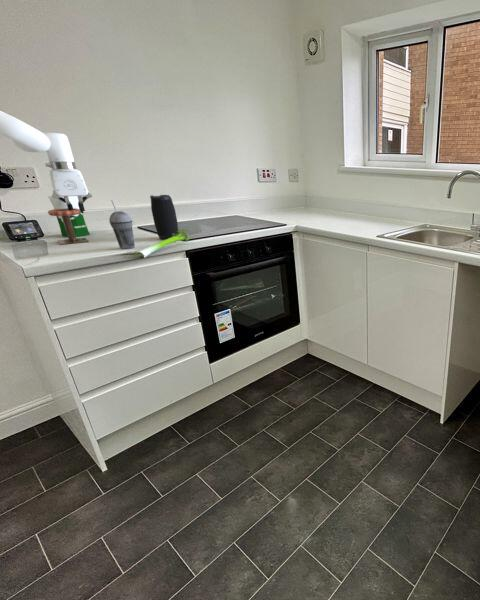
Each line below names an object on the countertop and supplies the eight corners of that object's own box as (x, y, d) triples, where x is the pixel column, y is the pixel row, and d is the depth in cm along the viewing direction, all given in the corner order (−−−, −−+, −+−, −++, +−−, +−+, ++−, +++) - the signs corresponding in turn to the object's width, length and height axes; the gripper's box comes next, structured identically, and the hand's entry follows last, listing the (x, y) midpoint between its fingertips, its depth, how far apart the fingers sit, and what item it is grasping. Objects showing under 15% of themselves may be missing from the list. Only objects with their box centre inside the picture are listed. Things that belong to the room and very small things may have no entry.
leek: (132, 261, 133) (179, 239, 160) (150, 264, 134) (194, 242, 161) (129, 246, 131) (177, 226, 158) (148, 249, 131) (193, 229, 158)
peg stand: (61, 247, 143) (49, 211, 138) (58, 243, 149) (47, 208, 143) (89, 244, 149) (79, 209, 144) (86, 240, 155) (76, 207, 149)
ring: (50, 217, 138) (48, 212, 137) (48, 214, 144) (46, 209, 143) (83, 214, 145) (81, 209, 144) (79, 212, 151) (78, 207, 150)
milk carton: (77, 233, 169) (64, 190, 161) (93, 234, 167) (81, 191, 160) (58, 236, 161) (43, 191, 153) (75, 237, 159) (61, 192, 152)
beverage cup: (142, 250, 143) (130, 199, 136) (122, 253, 137) (108, 201, 130) (133, 247, 147) (121, 198, 139) (113, 250, 141) (99, 199, 133)
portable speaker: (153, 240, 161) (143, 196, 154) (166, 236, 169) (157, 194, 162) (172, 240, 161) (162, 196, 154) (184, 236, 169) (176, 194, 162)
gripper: (36, 166, 132) (52, 215, 139) (91, 167, 143) (103, 212, 150) (35, 166, 137) (50, 213, 144) (88, 166, 148) (100, 211, 155)
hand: (77, 212), depth 147 cm, fingers closed on ring, 2 cm apart
